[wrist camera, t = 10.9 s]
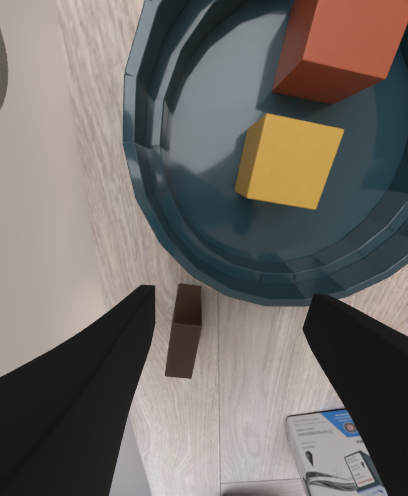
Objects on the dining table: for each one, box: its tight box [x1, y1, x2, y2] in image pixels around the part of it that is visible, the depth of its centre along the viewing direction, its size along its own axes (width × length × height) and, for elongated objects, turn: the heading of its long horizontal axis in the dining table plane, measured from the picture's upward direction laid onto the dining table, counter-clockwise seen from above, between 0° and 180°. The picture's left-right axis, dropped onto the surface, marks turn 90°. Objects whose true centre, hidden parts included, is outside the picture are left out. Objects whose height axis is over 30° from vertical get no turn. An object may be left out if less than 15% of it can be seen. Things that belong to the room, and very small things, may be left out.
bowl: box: [123, 0, 408, 306], centre depth 12 cm, size 19×19×4 cm
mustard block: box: [235, 113, 344, 210], centre depth 12 cm, size 4×4×4 cm
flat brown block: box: [165, 284, 202, 379], centre depth 17 cm, size 2×5×5 cm, turn 171°
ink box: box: [287, 410, 388, 496], centre depth 20 cm, size 9×5×12 cm, turn 100°
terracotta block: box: [272, 0, 408, 105], centre depth 10 cm, size 4×4×4 cm
